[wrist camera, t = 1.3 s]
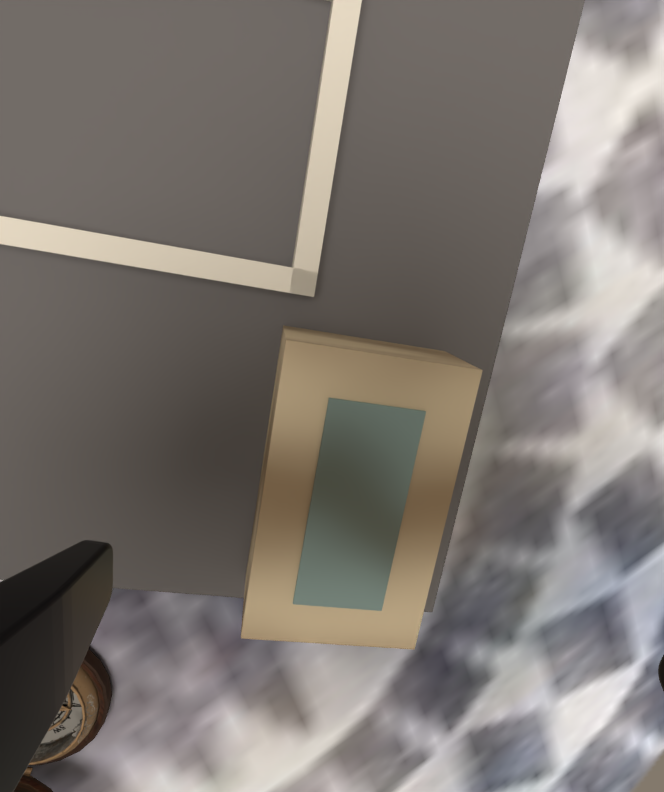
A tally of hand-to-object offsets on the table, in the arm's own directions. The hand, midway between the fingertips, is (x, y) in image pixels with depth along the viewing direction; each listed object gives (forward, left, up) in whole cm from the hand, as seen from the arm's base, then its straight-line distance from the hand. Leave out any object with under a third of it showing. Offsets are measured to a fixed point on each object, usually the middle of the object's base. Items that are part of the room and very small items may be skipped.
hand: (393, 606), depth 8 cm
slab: (-2, -1, -11) cm, 12 cm away
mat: (+4, +5, -12) cm, 13 cm away
